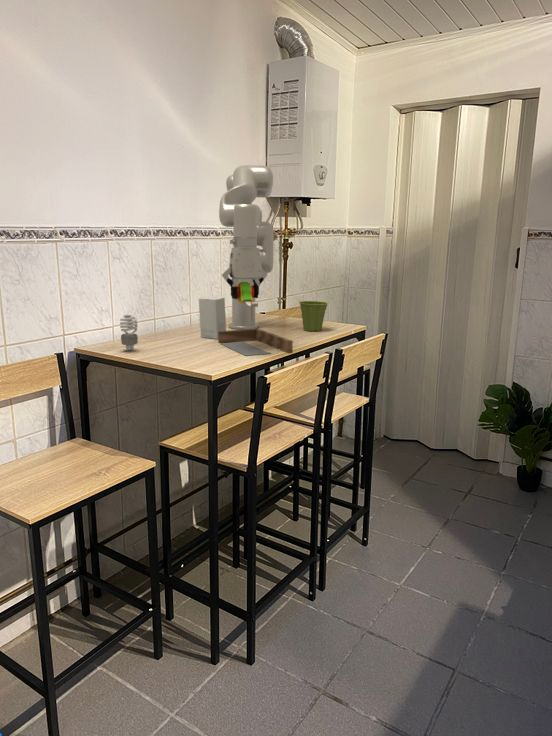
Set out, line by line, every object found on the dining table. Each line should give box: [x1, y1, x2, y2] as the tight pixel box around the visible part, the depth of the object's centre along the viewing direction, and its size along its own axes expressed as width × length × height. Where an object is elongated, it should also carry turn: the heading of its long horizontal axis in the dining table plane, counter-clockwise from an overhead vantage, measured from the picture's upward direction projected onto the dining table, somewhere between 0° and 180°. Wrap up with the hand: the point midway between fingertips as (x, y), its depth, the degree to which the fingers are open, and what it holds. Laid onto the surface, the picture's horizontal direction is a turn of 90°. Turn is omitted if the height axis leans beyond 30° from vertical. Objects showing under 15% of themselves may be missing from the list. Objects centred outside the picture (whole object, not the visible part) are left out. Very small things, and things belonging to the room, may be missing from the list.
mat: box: [220, 341, 272, 357], centre depth 196 cm, size 21×9×1 cm, turn 28°
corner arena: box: [217, 328, 294, 354], centre depth 198 cm, size 26×16×4 cm, turn 28°
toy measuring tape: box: [236, 282, 259, 308], centre depth 189 cm, size 6×20×7 cm, turn 17°
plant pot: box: [298, 300, 329, 332], centre depth 233 cm, size 12×12×11 cm
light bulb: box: [119, 314, 139, 352], centre depth 188 cm, size 6×6×12 cm
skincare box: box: [198, 296, 227, 340], centre depth 214 cm, size 8×6×15 cm
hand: (244, 297), depth 192 cm, fingers closed on toy measuring tape, 6 cm apart
